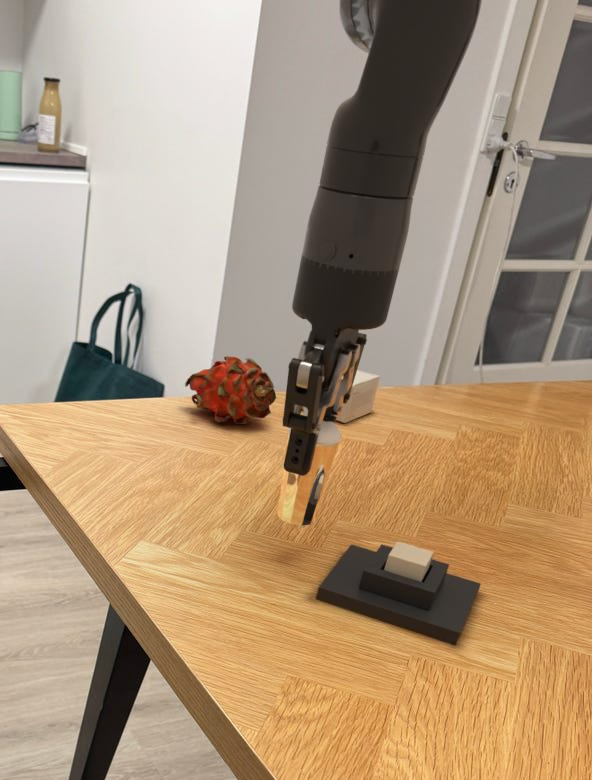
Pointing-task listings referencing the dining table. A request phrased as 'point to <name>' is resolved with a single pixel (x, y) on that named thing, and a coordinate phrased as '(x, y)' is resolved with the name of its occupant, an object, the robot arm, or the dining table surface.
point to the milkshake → (308, 479)
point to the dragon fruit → (233, 390)
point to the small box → (359, 397)
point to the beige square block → (408, 561)
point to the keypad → (400, 594)
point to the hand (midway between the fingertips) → (305, 462)
